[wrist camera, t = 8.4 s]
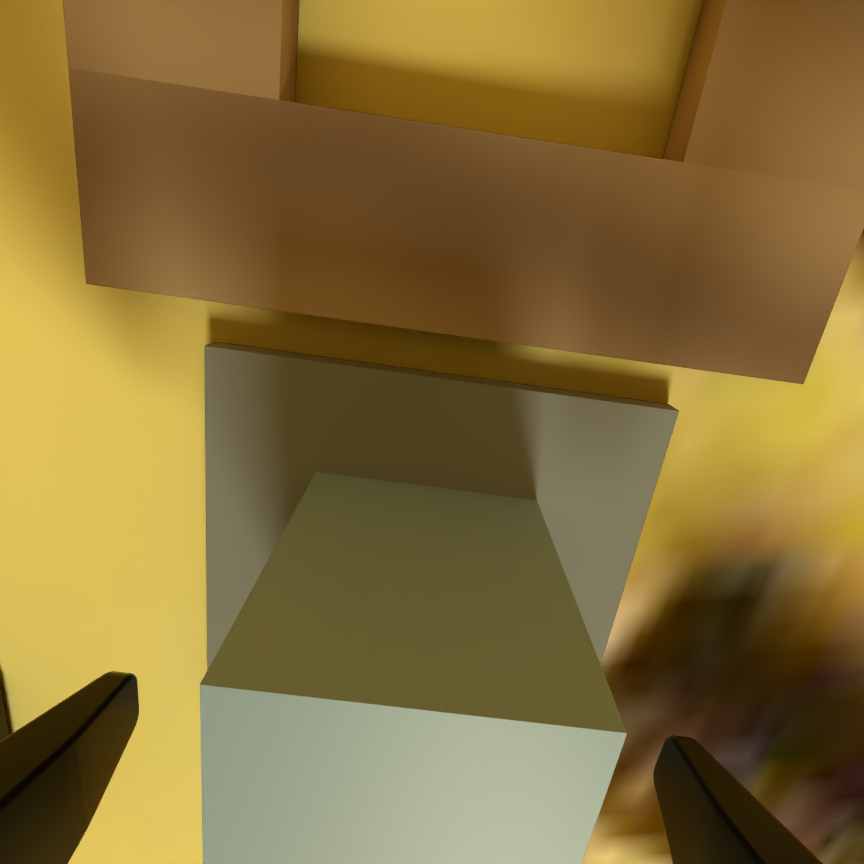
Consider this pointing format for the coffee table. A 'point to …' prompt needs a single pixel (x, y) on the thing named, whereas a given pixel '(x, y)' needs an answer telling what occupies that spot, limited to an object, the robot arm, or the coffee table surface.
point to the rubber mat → (421, 461)
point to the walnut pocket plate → (478, 190)
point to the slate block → (406, 690)
